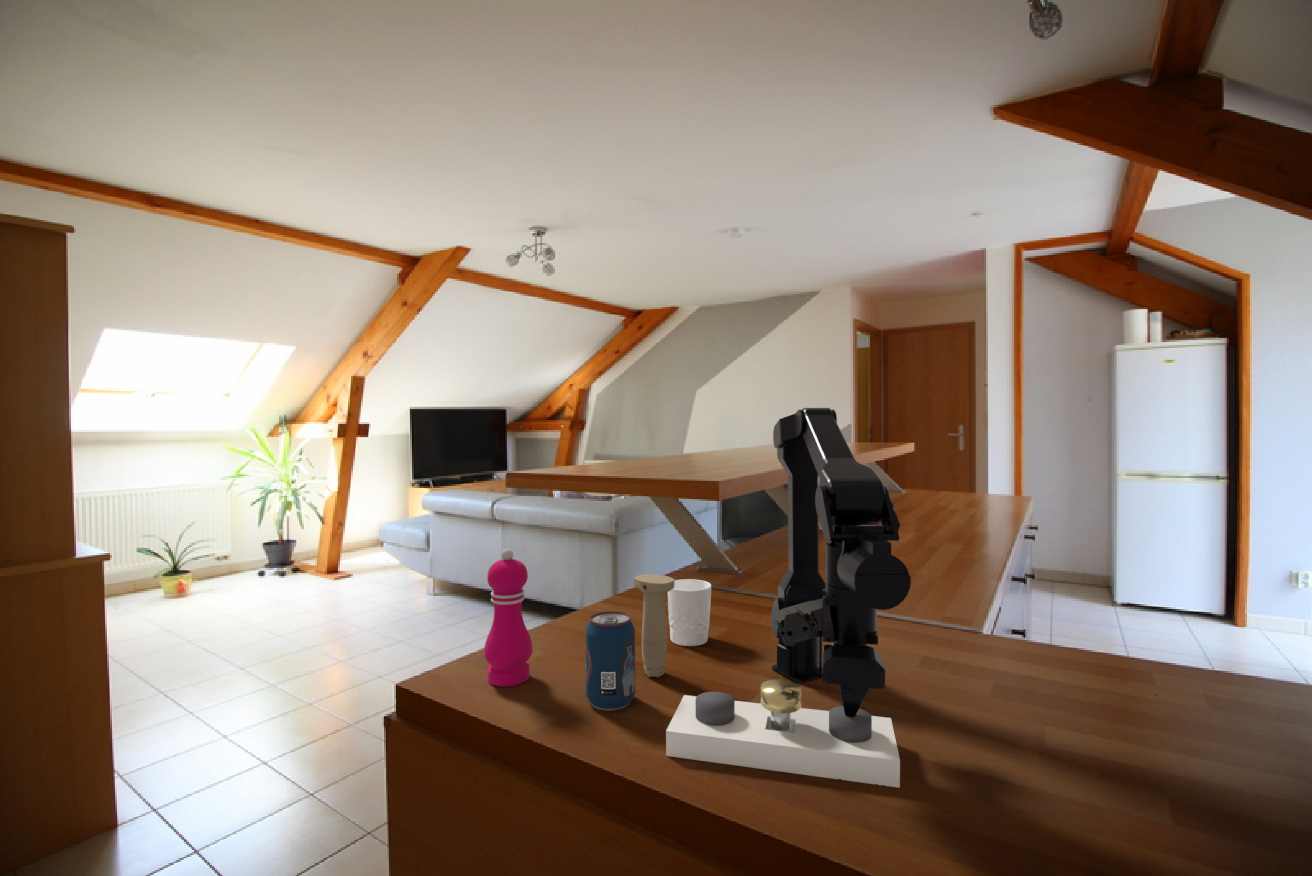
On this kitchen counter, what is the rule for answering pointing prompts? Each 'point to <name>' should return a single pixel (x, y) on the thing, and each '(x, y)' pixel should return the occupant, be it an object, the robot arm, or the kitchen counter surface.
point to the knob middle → (780, 701)
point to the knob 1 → (715, 708)
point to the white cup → (689, 612)
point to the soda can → (610, 660)
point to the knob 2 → (850, 725)
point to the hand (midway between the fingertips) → (849, 715)
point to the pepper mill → (507, 624)
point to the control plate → (785, 744)
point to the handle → (654, 621)
